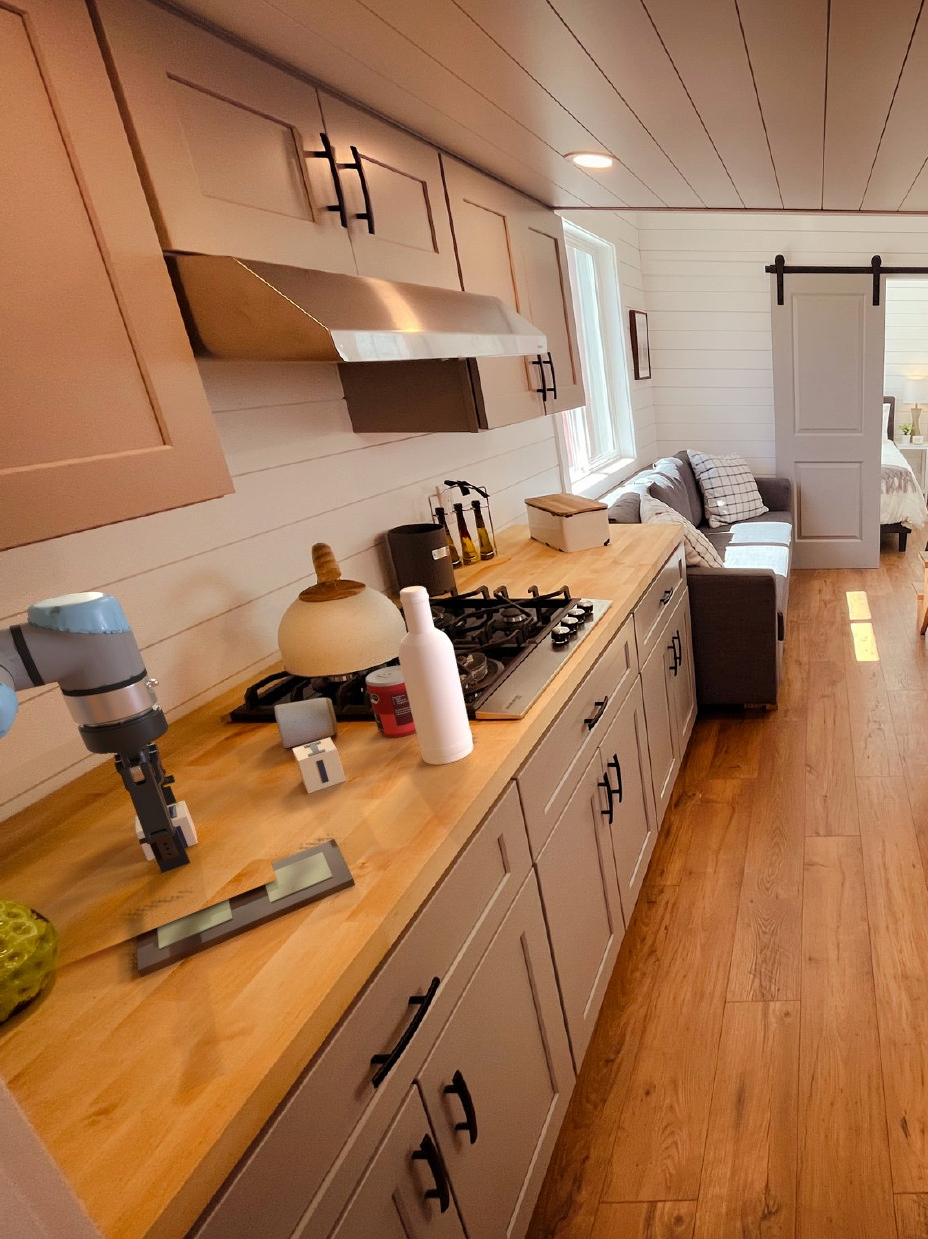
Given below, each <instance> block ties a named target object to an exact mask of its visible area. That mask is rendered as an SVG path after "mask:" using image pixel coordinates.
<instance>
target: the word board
mask: <svg viewBox="0 0 928 1239" xmlns="http://www.w3.org/2000/svg"><path fill="white" fill-rule="evenodd" d="M271 866H272V869H273V872H274V876H275V878H276V879H273V880H271V881H269V882H266V883H264V884H261V885H258V886H256V887H254V888H251V889H249V890H246V891H244V892H241V893H239V894H237V895H234V896H231V897H229V898H227V899H224V900H221V901H218V902H217V903H214V904H211V905H210V906H206V907H204V908H202V909H199V910H197V911H193V912H192V913H189V914H187V915H184V916H181V917H178V918H177V919H174V920H171V921H169V922H167V923H164V924H162V925H159V926H157V927H154V928H151V929H149V930H147V931H144V932H142V933H139V934H137V935H135V937H136V938H135V939H136V960H137V972H138V974H139V976H140V978H143V977H145V976H148V975H150V974H153V973H154V972H156V971H159V970H161V969H163V968H166V967H168V966H171V965H173V964H175V963H178V962H179V961H183V960H184V959H187V958H189V957H191V956H194V955H196V954H198V953H201V952H203V951H205V950H207V949H209V948H212V947H214V946H217V945H219V944H221V943H223V942H226V941H228V940H231V939H232V938H235V937H238V936H240V935H242V934H245V933H248V932H249V931H251V930H254V929H256V928H259V927H261V926H263V925H265V924H267V923H270V922H272V921H275V920H276V919H279V918H281V917H284V916H286V915H289V914H291V913H293V912H295V911H298V910H300V909H302V908H305V907H307V906H309V905H311V904H314V903H316V902H319V901H321V900H323V899H326V898H328V897H330V896H333V895H334V894H335V895H336V894H337V893H339V892H342V891H344V890H346V889H348V888H351V887H353V886H355V885H356V884H355V880H354V877H353V876H352V875H353V874H352V873H351V871H350V869H349V866H348V865H347V862H346V860H345V858H344V856H343V854H342V851H341V850H340V847H339V845H338V843H337V841H336V839H335V838H333V839H330V840H327V841H325V842H322V843H320V844H317V845H315V846H312V847H309V848H307V849H304V850H302V851H299V852H296V853H294V854H290V855H289V856H285V857H283V858H281V859H278V860H276V861H273V862H271Z"/></svg>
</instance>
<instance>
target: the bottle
mask: <svg viewBox="0 0 928 1239" xmlns="http://www.w3.org/2000/svg"><path fill="white" fill-rule="evenodd" d="M399 596H400V598H399V601H400V603H401V604H402V605H401V606H402V609H403V613H404V618H405V623H406V627H407V631H408V632H406V634H405V635H404V636H403V637H402V638H401V640H400V642H399V647H398V654H397V656H398V660H399V664H400V665H399V666H401V669H402V673H403V678H404V682H405V686H406V690H407V695H408V699H409V703H410V707H411V712H412V716H413V720H414V724H415V729H416V732H415V734H416V736H417V740H418V748H419V752H420V754H421V758H422V761H423V762H425V763H426V764H430V765H434V766H435V765H436V766H438V765H439V766H440V765H441V766H442V765H448V764H451V763H454V762H457V761H460V760H462V759H464V758H465V757H467V756H468V755H469V754H471V753H472V751H473V749H474V742H473V734H472V730H471V728H470V723H469V717H468V713H467V708H466V702H465V700H464V699H465V697H464V694H463V688H462V684H461V679H460V674H459V669H458V664H457V658H456V654H455V650H454V644H453V643H452V641H451V639H450V638H449V636H448V635H447V634H446V633H445V632H444V631H442V630H440V629H438V628H437V627H435V625H434V624H435V623H434V620H433V614H432V611H431V610H432V609H431V607H430V600H429V597H430V595H429V593H428V591H427V588H426V587H425V586H421V585H414V586H407V587H404V588H402V589H401V590H400V591H399Z"/></svg>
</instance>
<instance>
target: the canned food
mask: <svg viewBox="0 0 928 1239" xmlns="http://www.w3.org/2000/svg"><path fill="white" fill-rule="evenodd" d="M365 684H366V689H367V693H368V696H369V700H370V705H371V708H372V712H373V715H374V720H375V723H376V726H377V730H378V732H379V733H380V735H382V736H384V737H387V738H400V737H406V736H410V735H412V734H416V729H415V724H414V720H413V716H412V712H411V707H410V703H409V699H408V695H407V690H406V686H405V682H404V678H403V673H402V669H401V665H393V666H387V667H382V668H380V669H377V670H374V671H372V672H370V673H369V674H368V675H367V676H365Z"/></svg>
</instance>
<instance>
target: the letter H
mask: <svg viewBox="0 0 928 1239" xmlns="http://www.w3.org/2000/svg"><path fill="white" fill-rule="evenodd" d="M176 802H177V803H174V804H171V805H168V806H167V808H168V811H169V814H170V817H171V820H172V823H173V826H175V828H177V831H178V833H179V835H180V838H181V840H182V843H183V845H184V848H185V849H187V848H189V847H191V846H195V845H198V843H199V842H198V836H197V832H196V827H195V824H194V821H193V819H192V815H191V814H190V811H189V807H188V805H187V803H186V801H185V800H181V801H176ZM134 828H135V830H134V831H135V836H136V838H137V840H138V841H139V839H142V838H145V835H144V833H143V830H142V827H141V824H140V821H139V819H138V816H137V814H136V815H134ZM139 844H140V843H139ZM140 847H141V849H142V852H143V854H144V856H145V859H146V861H148V862H149V861H151V860H156V858H155V856H154V853H153V851H152V849H151V846H150V844H147V843H144V844H142V845H141V844H140Z"/></svg>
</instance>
